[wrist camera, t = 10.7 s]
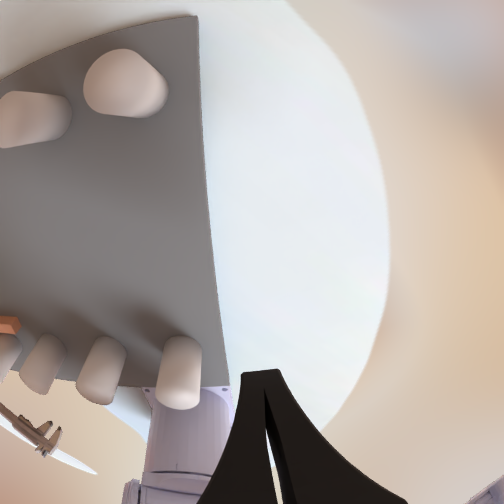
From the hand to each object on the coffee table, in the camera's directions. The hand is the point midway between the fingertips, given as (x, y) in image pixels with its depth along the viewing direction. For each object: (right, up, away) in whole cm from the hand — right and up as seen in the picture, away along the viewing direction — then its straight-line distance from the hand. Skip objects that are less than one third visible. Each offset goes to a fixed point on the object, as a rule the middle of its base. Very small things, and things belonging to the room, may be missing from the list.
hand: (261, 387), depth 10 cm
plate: (-16, +5, +6) cm, 18 cm away
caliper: (-36, -16, +14) cm, 42 cm away
